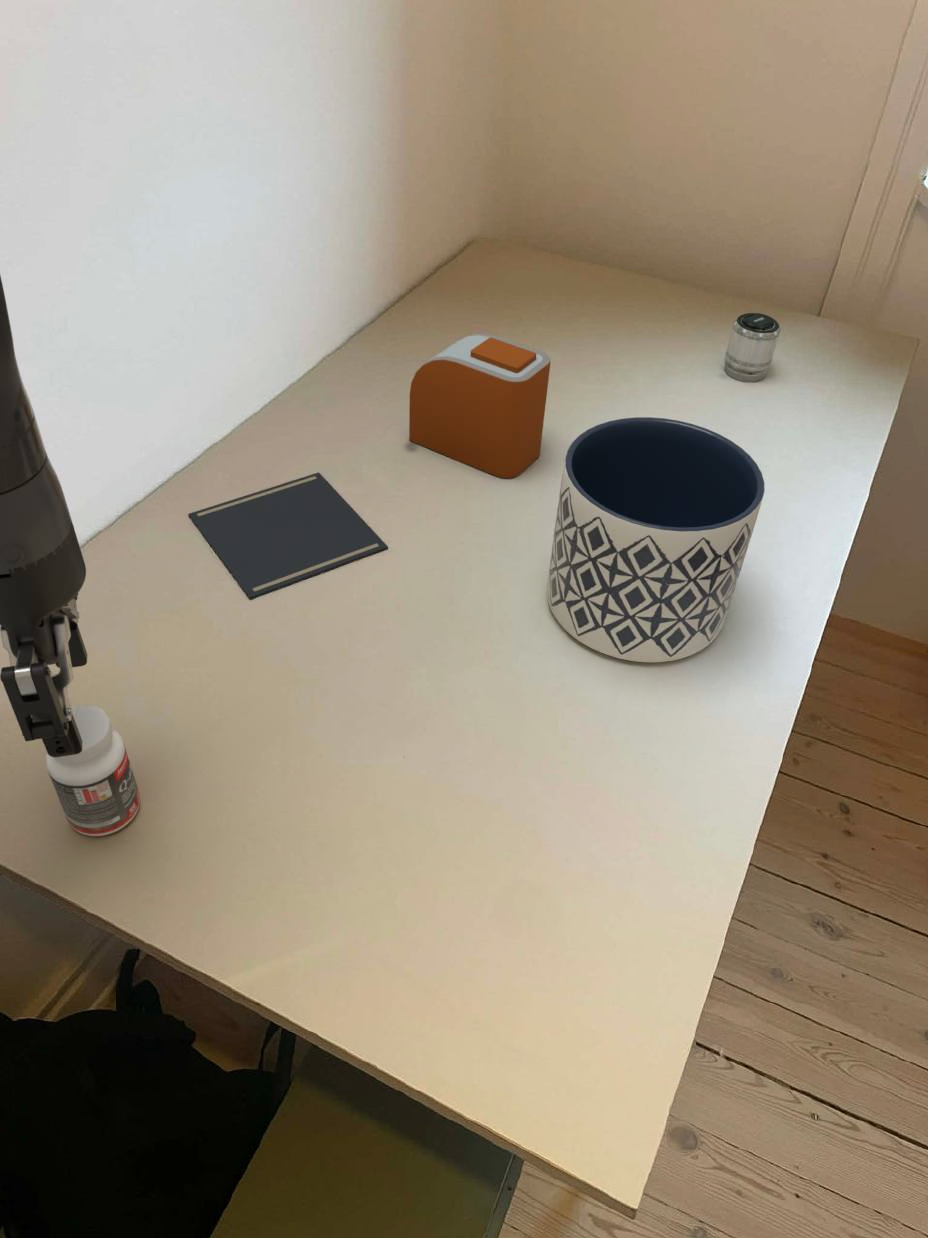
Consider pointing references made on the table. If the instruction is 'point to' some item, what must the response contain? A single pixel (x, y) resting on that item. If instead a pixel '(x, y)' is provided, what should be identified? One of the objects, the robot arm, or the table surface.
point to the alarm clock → (482, 404)
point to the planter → (651, 536)
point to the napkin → (286, 534)
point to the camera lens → (751, 346)
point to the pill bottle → (95, 777)
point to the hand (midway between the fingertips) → (70, 706)
